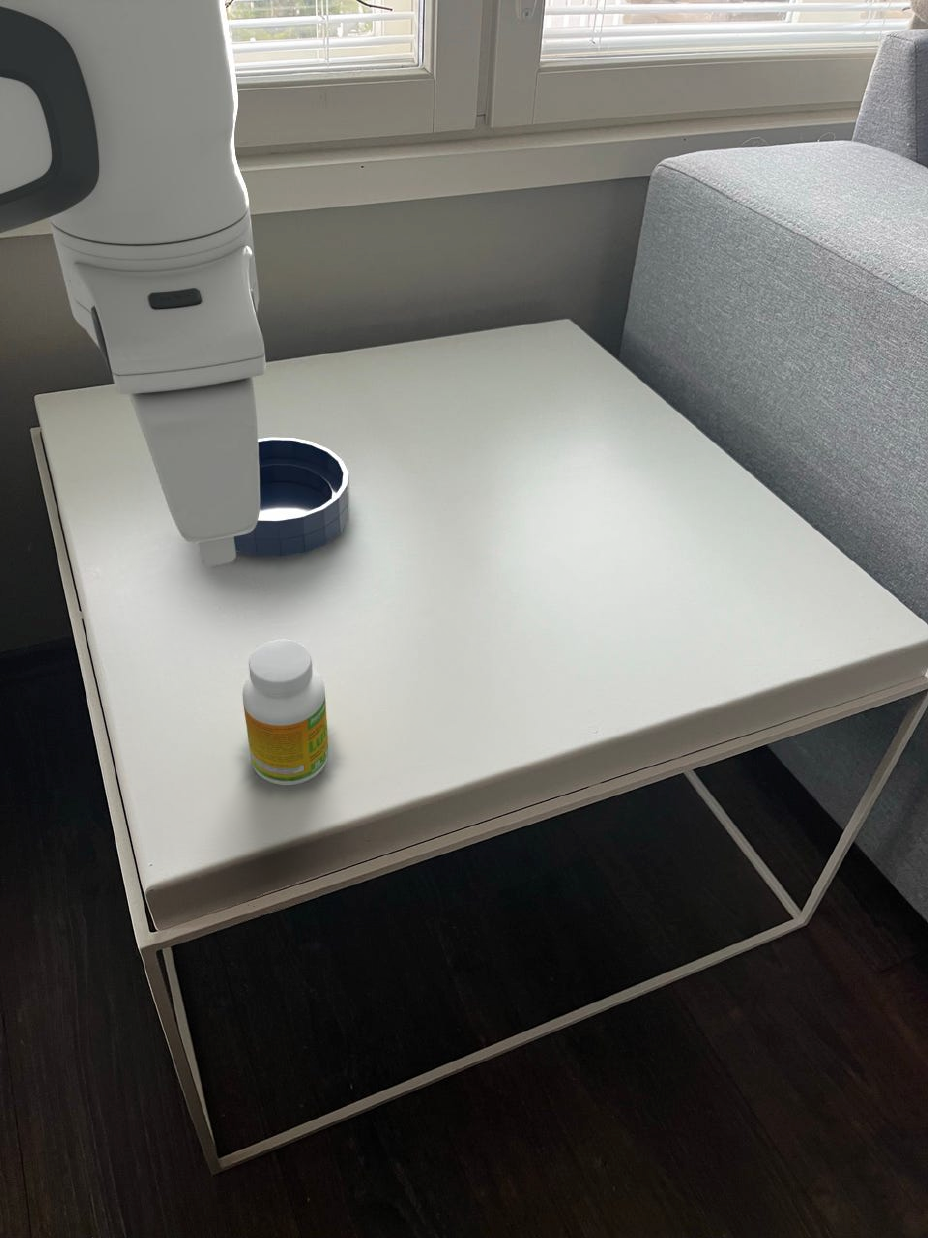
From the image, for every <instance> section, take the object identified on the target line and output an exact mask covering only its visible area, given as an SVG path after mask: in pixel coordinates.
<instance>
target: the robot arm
mask: <svg viewBox="0 0 928 1238" xmlns="http://www.w3.org/2000/svg"><path fill="white" fill-rule="evenodd" d="M238 101H239V100H238V90H237V81H236V74H235V65H234V58H233V49H232V43H231V36H230V29H229V24H228V17H227V11H226V5H225V0H0V234H3V233H6V232H10V231H13V230H16V229H19V228H23V227H27V226H29V225H31V224H35V223H37V222H40V221H44V220H46V219H48V221H49V225H50V229H51V233H52V237H53V241H54V245H55V249H56V252H57V257H58V261H59V266H60V269H61V273H62V277H63V281H64V285H65V288H66V293H67V298H68V301H69V305H70V309H71V314H72V316H73V318H74V320H75V321H76V323H78V325H80V326H81V328H83V329H84V330H86V332H87V334H88V335H89V337H90V338H91V339H92V341H93V342H94V344H95V345H96V346H97V347H98V349H99V350H100V353H101V355H102V357H103V359H104V361H105V364H106V366H107V370H108V372H109V377H110V378H112V379H113V383H114V387H115V390H116V391H117V392H118V394H120V395H128V396H129V398H130V401H131V403H132V407H133V408H134V409H133V410H134V411H135V414H136V415H135V416H136V417H137V420H138V422H139V426H140V428H141V431H142V434H143V437H144V439H145V443H146V445H147V449H148V452H149V454H150V457H151V460H152V463H153V467H154V469H155V472H156V475H157V477H158V480H159V483H160V487H161V489H162V492H163V495H164V498H165V501H166V503H167V506H168V510H169V512H170V513H171V517H172V520H173V522H174V525H175V526H176V529H177V531H178V533H179V535H180V536H181V538H182V539H183V540H184V541H186V542H187V543H190V544H197V546H198V550H199V554H200V558H201V559H200V560H201V562H202V564H203V565H204V566H208V567H215V566H220V565H225V564H230V563H232V562H233V561H234V560H235V559H236V558H237V551H235V544H234V537H233V536H238V535H243V534H247V533H250V532H251V531H253V530H254V528H255V527H256V525H257V522H258V519H259V514H260V469H259V446H258V439H259V426H258V409H257V401H256V400H257V399H256V392H255V384H254V378H255V377H260V376H263V375H264V374H265V373H266V370H267V364H266V363H267V362H266V361H267V360H266V353H265V344H264V338H263V332H262V326H261V321H260V318H259V314H258V312H259V304H260V290H259V289H260V288H259V281H258V271H257V264H256V254H255V244H254V243H255V242H254V235H253V225H252V216H251V209H250V199H249V195H248V190H247V187H246V183H245V181H244V179H243V176H242V173H241V172H240V168H239V166H238V163H237V159H236V153H235V142H234V141H235V138H234V137H235V135H234V133H235V125H236V124H235V123H236V118H237V112H238Z"/></svg>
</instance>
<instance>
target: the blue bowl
mask: <svg viewBox="0 0 928 1238" xmlns="http://www.w3.org/2000/svg"><path fill="white" fill-rule="evenodd" d="M258 446H259V469H260V514H259V519H258V522H257V525H256V527H255V528H254V530H253V531H251V532H250V533H247V534H243V535H238V536H233V537H234V544H235V551H236V553H240V554H245V555H250V556H253V557H258V558H261V557H262V558H263V557H264V558H284V557H290V556H295V555H301V554H307V553H309V552H312V551H314V550H317V549H319V548H322V547H324V546H326V545H327V544H329V542H331V541H332V540H334V539H335V538H337V537H338V536H339V535H340V534H341V533H342V531H343V530H344V528H345V527H346V526H347V524H348V522H349V521H350V520H349V519H350V511H351V510H350V509H351V499H350V497H351V496H350V495H351V494H350V473H349V470H348V468H347V466H346V464H345V462H344V460H343V459H342V458H341V457H340V456H339V455H337V454H336V453H335V452H334V451H332V450H331V449H330V448H327V447H326V446H324V445H323V446H322V445H321V444H318V443H316V442H314V441H308V440H304V439H299V438H295V437H266V438H258Z"/></svg>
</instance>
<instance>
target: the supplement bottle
mask: <svg viewBox="0 0 928 1238" xmlns="http://www.w3.org/2000/svg"><path fill="white" fill-rule="evenodd" d="M312 659H313V658H312V655H311V652H310V650H309V649H308V648H307V647H306V646H305V645H304V644H302V643H300V642H298V641H295V640H291V639H284V638H283V639H282V638H281V639H274V640H269V641H267V642H265V643H262V644H260V645H259V646H258V647H257V648H255V649H254V650H253V652H252V653H251V654H250V657H249V660H248V669H249V675H248V676H247V678H246V680H245V681H244V684H243V687H242V704H243V712H244V718H245V719H244V720H245V726H246V733H247V739H248V747H249V754H250V760H251V765H252V766H253V769H254V770H255V772H256V773H257V775H259V777H260V778H262V779H263V780H265V781H267V782H268V783H271V784H273V785H280V786H295V785H300V784H303V783H305V782H307V781H310V780H311V779H314V778H315V777H316V776H317V775H318V774H320V772H321V771H322V770H323V769H324V767H326V763H327V761H328V758H329V739H328V737H329V736H328V717H327V705H326V703H327V702H326V690H325V683H324V681H323V679H322V676H321V675H320V673H319V672H318V671H317V670H316V669H315V668H314V667H313V660H312Z"/></svg>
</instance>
